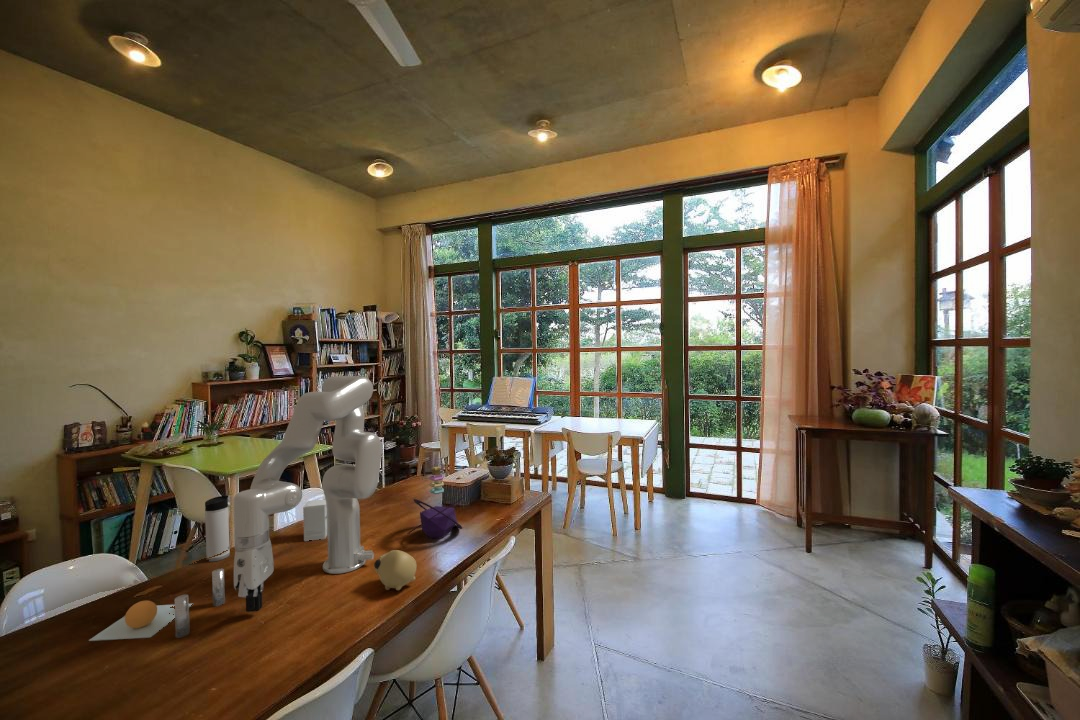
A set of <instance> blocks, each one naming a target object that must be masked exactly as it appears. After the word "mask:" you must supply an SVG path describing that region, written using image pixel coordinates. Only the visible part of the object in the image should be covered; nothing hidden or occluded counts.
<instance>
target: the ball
mask: <svg viewBox="0 0 1080 720" xmlns="http://www.w3.org/2000/svg"><path fill="white" fill-rule="evenodd" d="M156 614H157V603H155V602H153V601H152V600H141V601H138V602H136V603H134V604H132V606H130V607H129V609H128V610H127V611H126V613H125V615H124V616H125V623H126V624H127V625H128V626H129V627H131V628H141V627H144V626H146V625H148V624H149V623H150V622H151V621H152V620H153V619H154V618H155V616H156Z"/></svg>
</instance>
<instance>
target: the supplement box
mask: <svg viewBox="0 0 1080 720" xmlns="http://www.w3.org/2000/svg"><path fill="white" fill-rule="evenodd" d="M302 509H303V512H302V513H303V541H304V542H310V541H309V540H312V541H319V539H321V540H325V539H327V507H326V499H315V500H314V499H313V500H308V501H307V502H306V503H305V505H304V506H303V508H302Z"/></svg>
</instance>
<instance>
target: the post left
mask: <svg viewBox="0 0 1080 720" xmlns="http://www.w3.org/2000/svg"><path fill="white" fill-rule="evenodd" d="M189 599H190V598H189V594H182V595H181V594H180V595H179V596H177V597H174V605H175V619H174V623H175V625H174V627H175V638H176V639H180V638H184V637H186V636H189V634H190V633H191V632H190V631H191V630H190V607H189V604H190V603H189V602H190V601H189Z"/></svg>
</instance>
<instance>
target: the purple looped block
mask: <svg viewBox="0 0 1080 720" xmlns="http://www.w3.org/2000/svg"><path fill="white" fill-rule="evenodd" d="M441 471H442V467H441V466H434V467H431V472H432V473H431V476H429V477H428V479H429V480H430V481H432V482H430V483H429V484H428V486H429V487H431V488H432V489H430V490H429V493H430V494H433V495H439V494H443V493H444V492H445V491H444V490H445V489H444V488H443V487H444V485H445V484H444V482H443V479H444V475H443V474H441ZM466 497H467V495H465V496H463V497H461V498H459V499H458V500H457V501H455V502H453V503H452V504H450V505H449V506H438V505H435V506H432V505H430V504H428V503H425V502H424V501H422V500H419V499H416V498H413V501H414V503H415V504H416V505H417V506H419V507H420V508H422V509H423V510H422V511H420V512H419V515H420V523H421V524H419V525H418V526H416V527H415V528H413V529H412V530H410V531H408V532H407V533H406V534H407V535H409V534H410V533H412V532H414V531H415V530H417V529H418V528H420V527H421V530H422V532H424V534H425V535H426V536H427V537H428V538H430V539H443V537H445V536H447V535H448V534H449V533H451V531H452V529H454V527H455V528H456V529H460V530H462V529H463V527H462V525H461V524H459V523H458V520H457V516H456V509H455V507H452V506H454V505H455V504H456V503H458V502H460V501H462V500H463V499H464V498H466ZM439 500H440V499H438V501H439ZM438 504H440V503H439V502H438ZM423 505H425V506H426V507H429V508H428V509H427V508H426V507H425V506H423Z"/></svg>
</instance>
